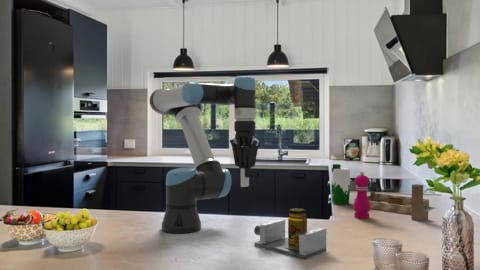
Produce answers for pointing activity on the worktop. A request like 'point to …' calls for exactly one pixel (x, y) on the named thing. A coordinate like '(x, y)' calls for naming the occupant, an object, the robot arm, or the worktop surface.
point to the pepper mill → (361, 197)
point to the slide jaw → (271, 231)
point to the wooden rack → (391, 200)
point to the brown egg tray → (393, 206)
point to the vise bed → (283, 250)
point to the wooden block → (418, 203)
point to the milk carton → (340, 184)
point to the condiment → (296, 226)
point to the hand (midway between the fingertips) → (244, 186)
